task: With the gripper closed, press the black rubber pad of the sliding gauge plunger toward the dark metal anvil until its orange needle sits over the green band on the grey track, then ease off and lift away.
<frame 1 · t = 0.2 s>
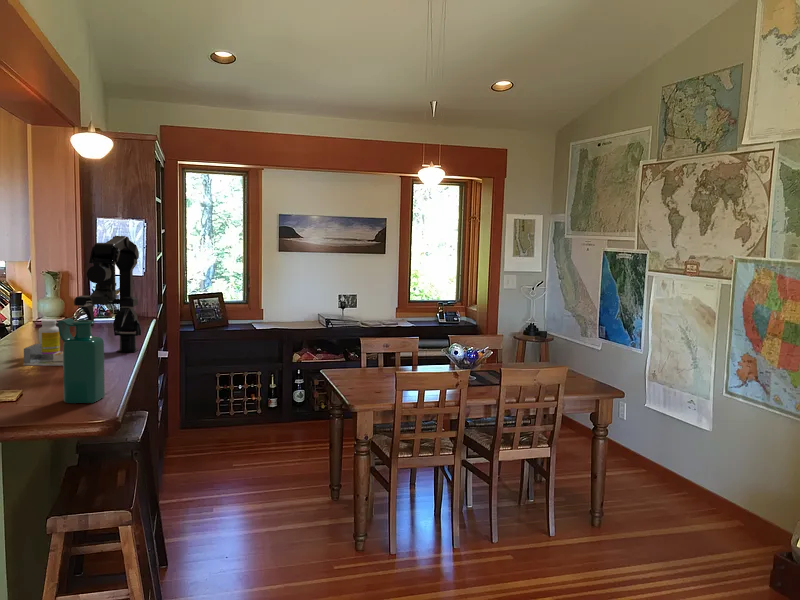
hand: (106, 326, 209), 13 cm above the breakfast bar, tool pointing down, fingers open, 9 cm apart
supplement bottle: (49, 356, 223), on the breakfast bar
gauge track: (52, 362, 212), on the breakfast bar
pitcher: (82, 400, 169), on the breakfast bar
plunger: (75, 356, 212), point 2 cm above the breakfast bar, slide at 0.0 cm
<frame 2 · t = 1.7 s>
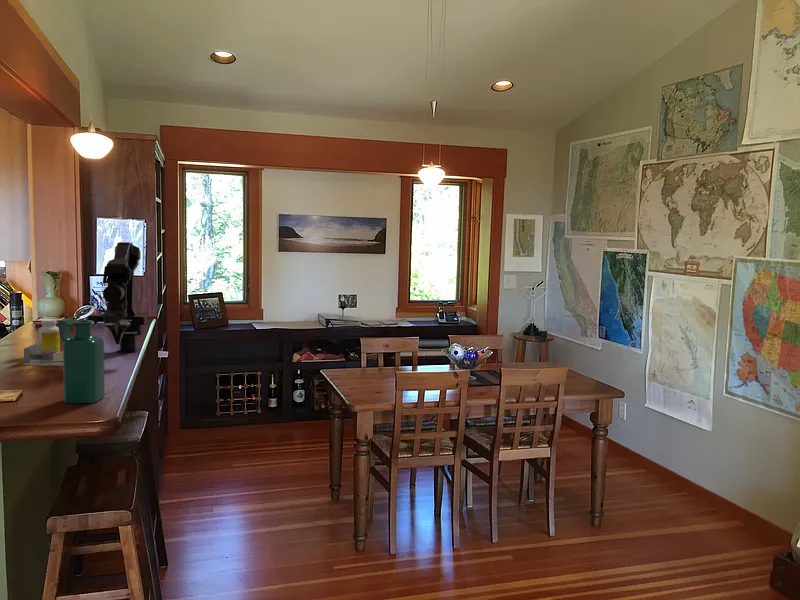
hand: (117, 344, 215), 7 cm above the breakfast bar, tool pointing down, fingers closed
nothing on the breakfast bar moved.
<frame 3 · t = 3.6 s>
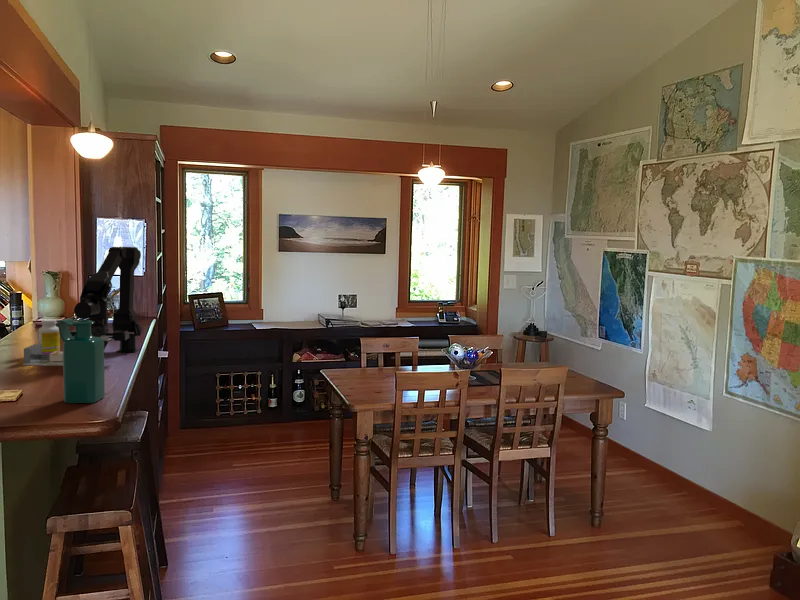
hand: (98, 360, 214), 1 cm above the breakfast bar, tool pointing down, fingers closed
plunger: (71, 356, 212), point 2 cm above the breakfast bar, slide at 1.2 cm, touching gripper
everything else where it was.
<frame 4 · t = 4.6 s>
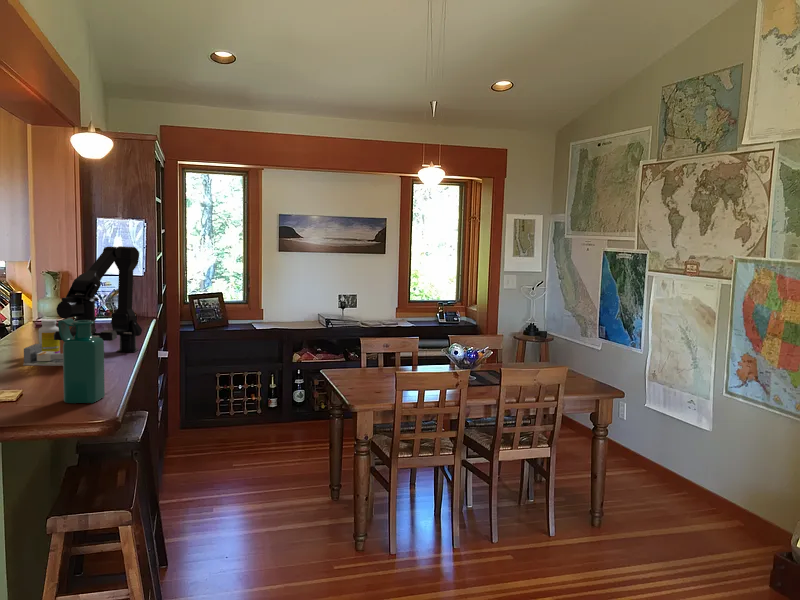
hand: (86, 359, 214), 1 cm above the breakfast bar, tool pointing down, fingers closed
plunger: (59, 356, 212), point 2 cm above the breakfast bar, slide at 5.3 cm, touching gripper
everything else where it was.
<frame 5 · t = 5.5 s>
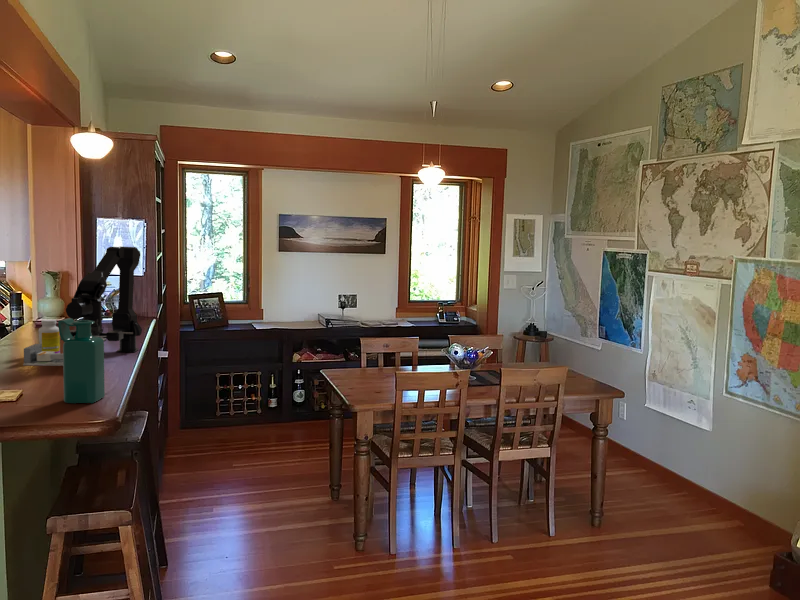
hand: (93, 360, 214), 1 cm above the breakfast bar, tool pointing down, fingers closed
plunger: (59, 356, 212), point 2 cm above the breakfast bar, slide at 5.3 cm
everything else where it was.
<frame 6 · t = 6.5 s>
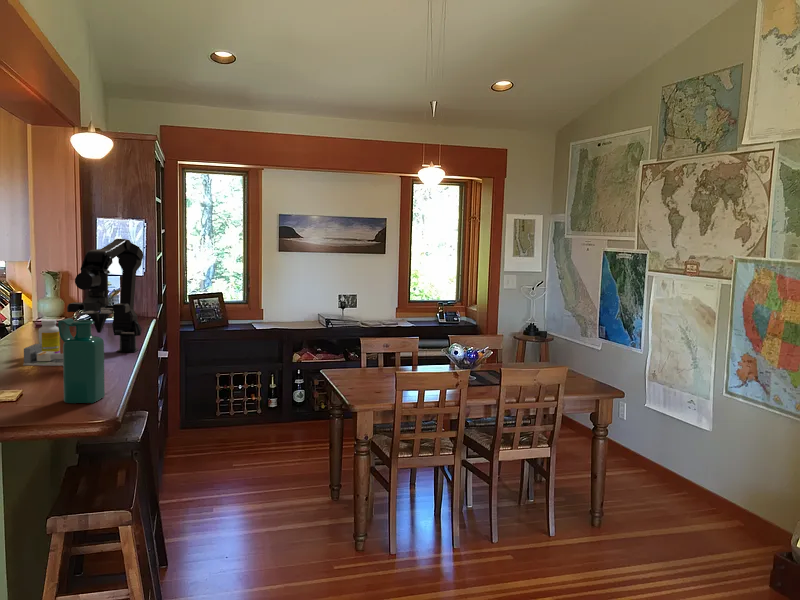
hand: (99, 332, 213), 11 cm above the breakfast bar, tool pointing down, fingers closed
nothing on the breakfast bar moved.
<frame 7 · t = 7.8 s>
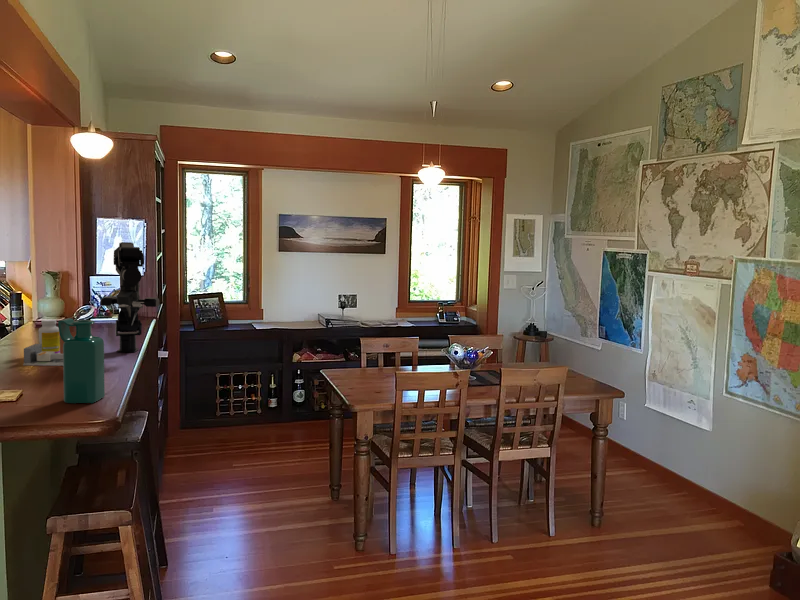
hand: (130, 325, 222), 12 cm above the breakfast bar, tool pointing down, fingers closed
nothing on the breakfast bar moved.
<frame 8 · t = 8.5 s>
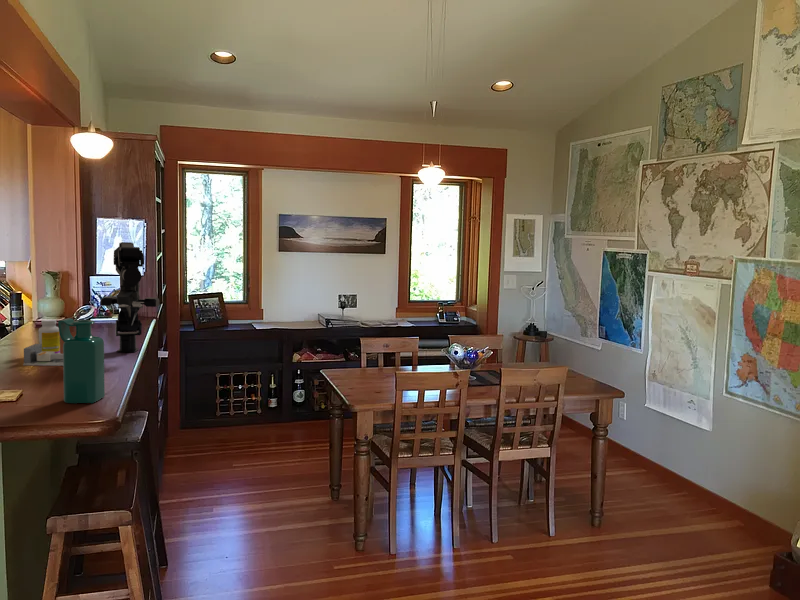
hand: (130, 325, 222), 12 cm above the breakfast bar, tool pointing down, fingers closed
nothing on the breakfast bar moved.
at the end: plunger slide at 5.3 cm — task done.
